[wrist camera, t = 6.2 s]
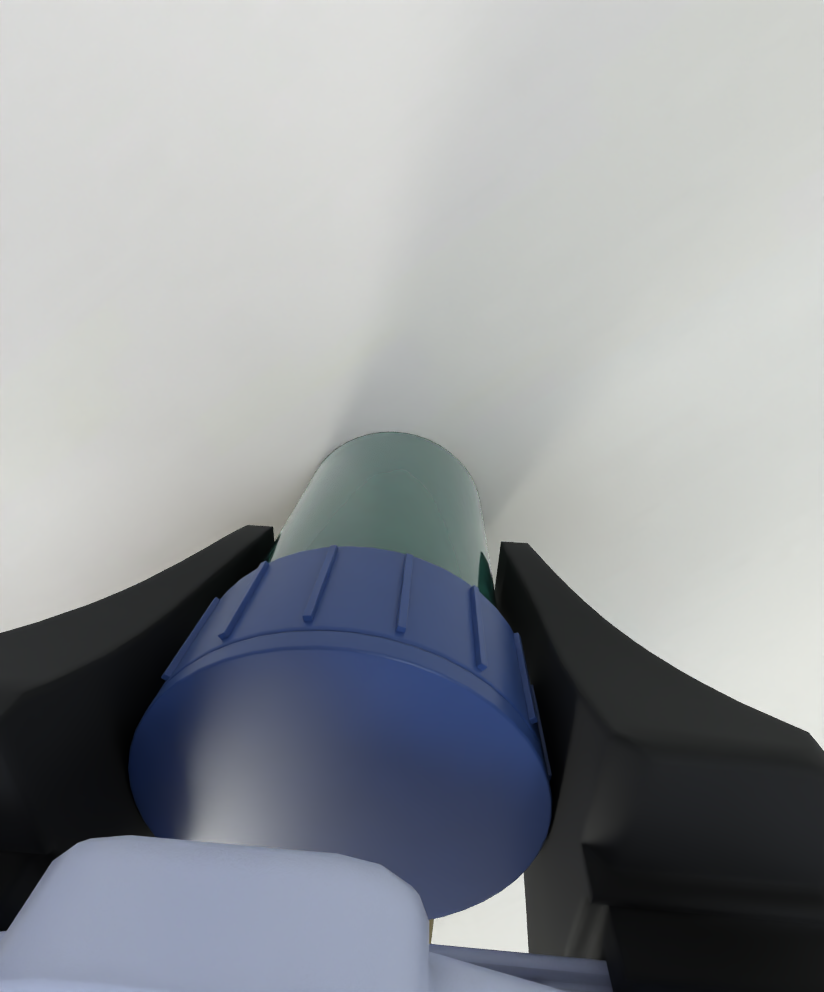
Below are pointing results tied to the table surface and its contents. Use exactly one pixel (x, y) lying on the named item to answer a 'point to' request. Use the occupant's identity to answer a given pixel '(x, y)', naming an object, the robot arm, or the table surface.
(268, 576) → the lid
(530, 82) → the table surface
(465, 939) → the table surface
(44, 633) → the robot arm
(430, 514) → the jar
